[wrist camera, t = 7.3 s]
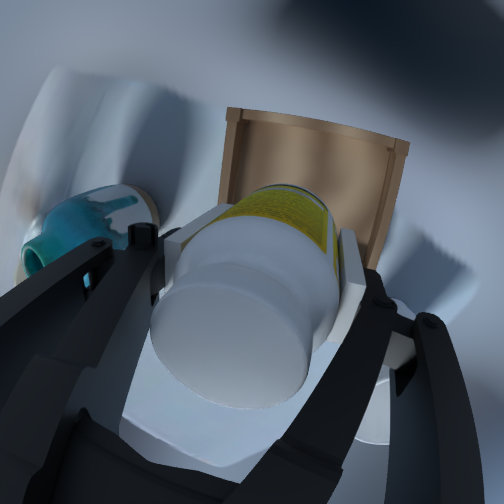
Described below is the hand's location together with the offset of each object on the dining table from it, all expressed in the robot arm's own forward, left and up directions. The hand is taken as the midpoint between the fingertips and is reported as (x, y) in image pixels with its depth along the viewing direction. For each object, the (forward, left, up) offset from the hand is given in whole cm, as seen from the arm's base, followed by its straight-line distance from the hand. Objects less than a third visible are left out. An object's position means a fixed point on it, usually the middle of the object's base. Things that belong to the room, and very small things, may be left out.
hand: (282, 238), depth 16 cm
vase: (-22, -7, -17) cm, 29 cm away
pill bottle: (0, 0, -1) cm, 1 cm away
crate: (0, 0, -17) cm, 17 cm away
